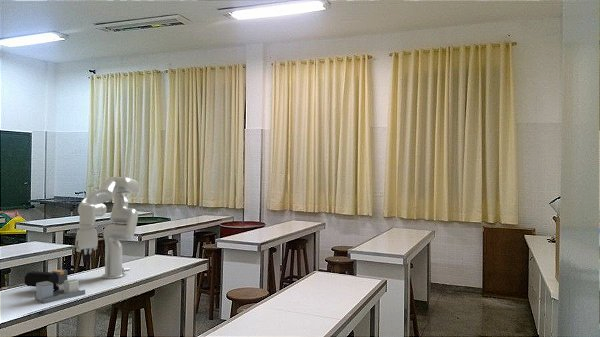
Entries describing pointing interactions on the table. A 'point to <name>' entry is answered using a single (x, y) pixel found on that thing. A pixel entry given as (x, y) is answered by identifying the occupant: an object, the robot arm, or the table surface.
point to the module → (70, 286)
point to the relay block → (61, 275)
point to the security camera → (42, 278)
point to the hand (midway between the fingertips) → (86, 261)
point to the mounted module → (44, 290)
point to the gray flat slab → (60, 296)
